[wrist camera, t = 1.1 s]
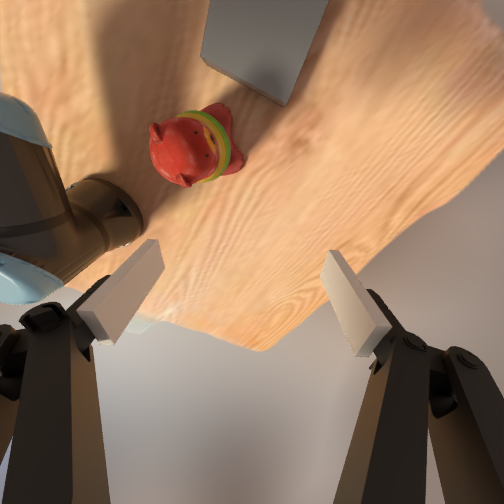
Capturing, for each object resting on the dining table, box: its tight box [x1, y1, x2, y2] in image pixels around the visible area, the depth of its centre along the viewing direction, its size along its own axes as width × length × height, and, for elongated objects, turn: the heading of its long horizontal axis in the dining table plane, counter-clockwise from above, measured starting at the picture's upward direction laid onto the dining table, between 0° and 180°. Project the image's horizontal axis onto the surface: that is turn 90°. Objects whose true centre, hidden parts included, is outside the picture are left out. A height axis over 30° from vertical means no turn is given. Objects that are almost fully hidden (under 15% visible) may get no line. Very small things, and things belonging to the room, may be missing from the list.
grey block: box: [200, 0, 329, 107], centre depth 24 cm, size 13×14×4 cm
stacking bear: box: [149, 103, 244, 188], centre depth 26 cm, size 11×10×18 cm
